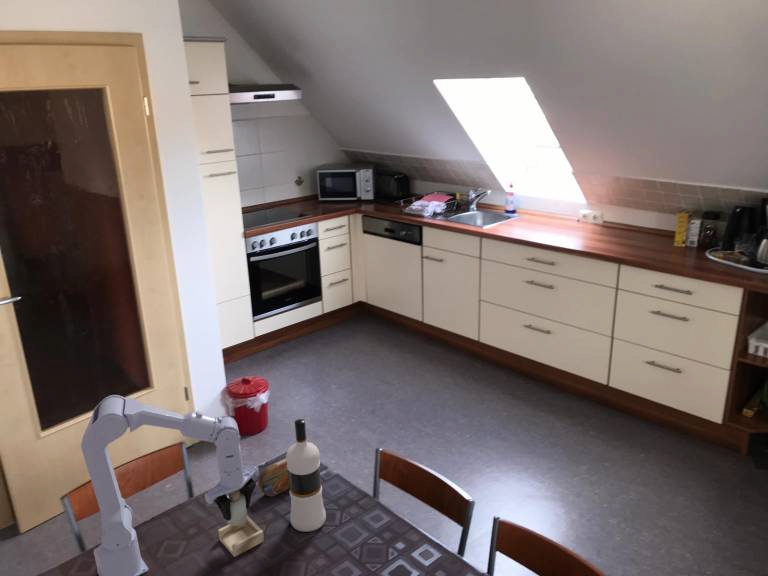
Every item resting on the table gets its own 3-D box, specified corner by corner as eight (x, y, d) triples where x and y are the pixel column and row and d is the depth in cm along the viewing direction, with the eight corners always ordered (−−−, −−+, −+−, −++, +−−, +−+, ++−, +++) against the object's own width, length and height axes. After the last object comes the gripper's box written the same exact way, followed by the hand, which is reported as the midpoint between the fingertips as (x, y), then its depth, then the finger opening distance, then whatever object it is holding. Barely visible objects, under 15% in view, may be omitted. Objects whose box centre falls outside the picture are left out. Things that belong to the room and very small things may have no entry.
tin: (263, 501, 171) (260, 475, 168) (258, 496, 173) (255, 470, 170) (309, 479, 180) (307, 453, 177) (303, 474, 182) (301, 449, 179)
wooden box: (234, 557, 151) (233, 547, 150) (219, 539, 157) (218, 529, 156) (264, 541, 156) (263, 531, 155) (248, 524, 162) (247, 515, 161)
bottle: (235, 528, 150) (231, 501, 148) (223, 520, 154) (219, 493, 151) (251, 518, 154) (248, 490, 151) (239, 509, 157) (236, 483, 155)
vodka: (283, 522, 162) (273, 422, 152) (310, 505, 168) (302, 407, 159) (306, 539, 156) (297, 435, 146) (333, 520, 162) (326, 419, 153)
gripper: (244, 446, 157) (250, 491, 161) (194, 473, 146) (202, 521, 150) (262, 456, 152) (267, 502, 156) (212, 485, 142) (219, 533, 146)
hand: (236, 512), depth 153 cm, fingers closed on bottle, 5 cm apart
